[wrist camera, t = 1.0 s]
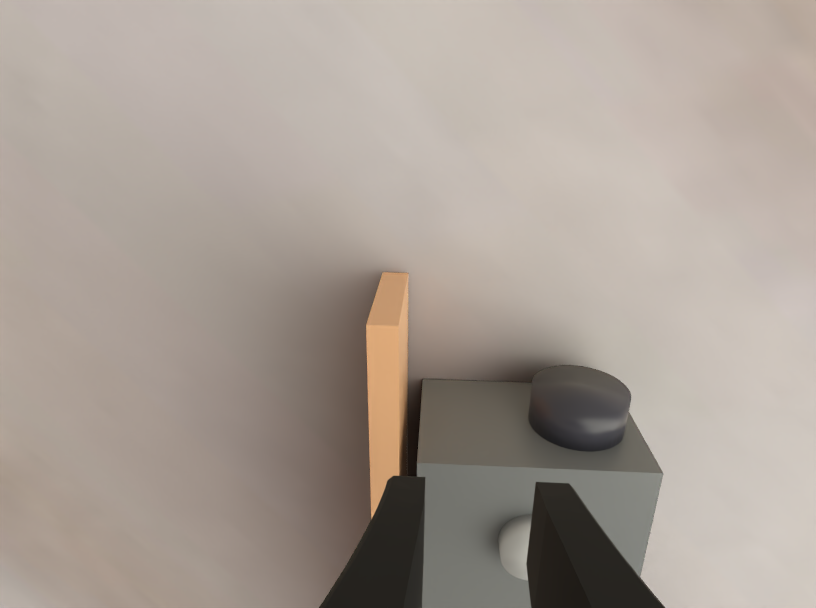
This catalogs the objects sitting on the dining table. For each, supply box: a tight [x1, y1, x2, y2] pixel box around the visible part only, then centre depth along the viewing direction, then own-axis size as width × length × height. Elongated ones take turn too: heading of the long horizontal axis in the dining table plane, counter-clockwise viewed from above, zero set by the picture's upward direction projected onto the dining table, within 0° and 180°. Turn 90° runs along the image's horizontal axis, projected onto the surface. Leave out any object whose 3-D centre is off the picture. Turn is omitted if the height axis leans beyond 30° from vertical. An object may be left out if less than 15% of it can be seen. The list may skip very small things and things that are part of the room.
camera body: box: [417, 365, 663, 608], centre depth 18 cm, size 13×6×5 cm, turn 0°
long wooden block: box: [366, 272, 408, 519], centre depth 18 cm, size 16×1×4 cm, turn 0°
